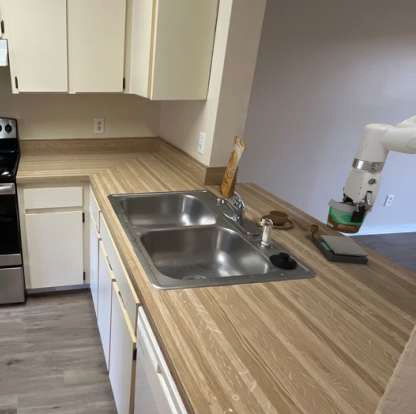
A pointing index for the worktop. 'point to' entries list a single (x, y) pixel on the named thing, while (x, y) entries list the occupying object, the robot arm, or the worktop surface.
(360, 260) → the scale
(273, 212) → the place setting
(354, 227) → the food container
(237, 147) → the pancake mix bag
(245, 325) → the worktop surface
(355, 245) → the pan
